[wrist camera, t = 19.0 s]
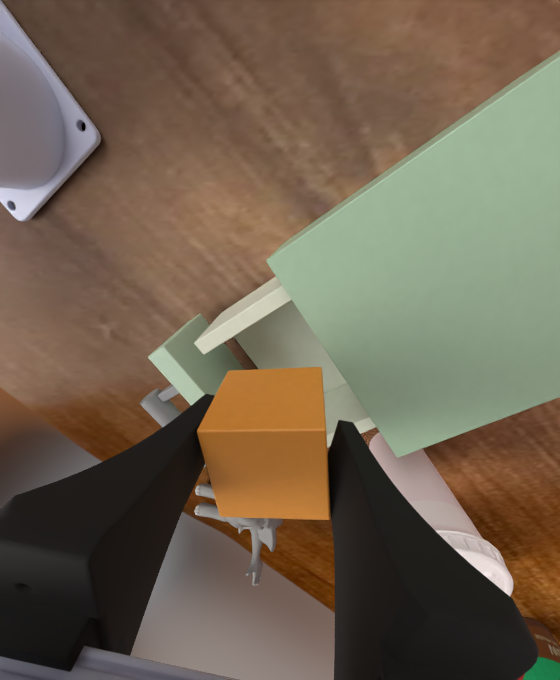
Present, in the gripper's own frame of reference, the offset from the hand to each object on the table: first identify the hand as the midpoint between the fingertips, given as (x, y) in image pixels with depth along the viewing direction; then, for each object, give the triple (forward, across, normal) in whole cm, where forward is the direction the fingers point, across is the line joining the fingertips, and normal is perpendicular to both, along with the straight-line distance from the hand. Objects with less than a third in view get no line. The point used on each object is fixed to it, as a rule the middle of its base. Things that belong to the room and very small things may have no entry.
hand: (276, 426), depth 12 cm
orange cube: (+1, 0, 0) cm, 1 cm away
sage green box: (+9, -7, -7) cm, 13 cm away
